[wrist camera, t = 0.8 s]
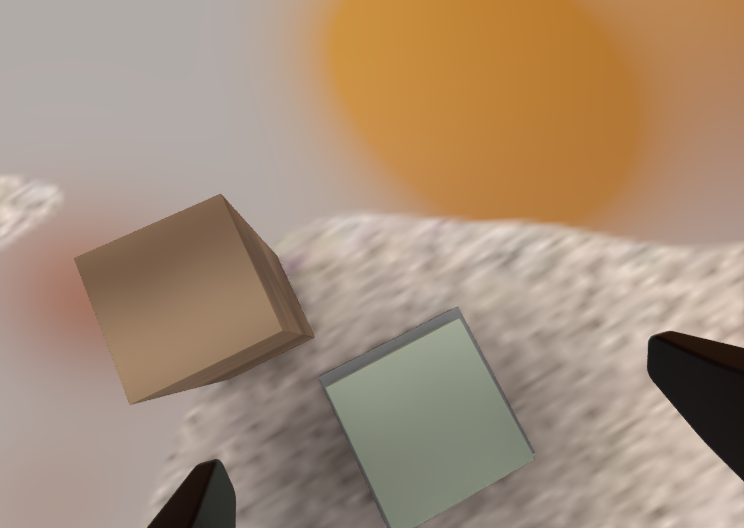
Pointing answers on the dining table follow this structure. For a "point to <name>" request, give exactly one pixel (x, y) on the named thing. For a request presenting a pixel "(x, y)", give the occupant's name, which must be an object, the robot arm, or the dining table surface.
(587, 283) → the dining table surface
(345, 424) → the sage top slab
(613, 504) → the dining table surface
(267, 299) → the walnut pillar
